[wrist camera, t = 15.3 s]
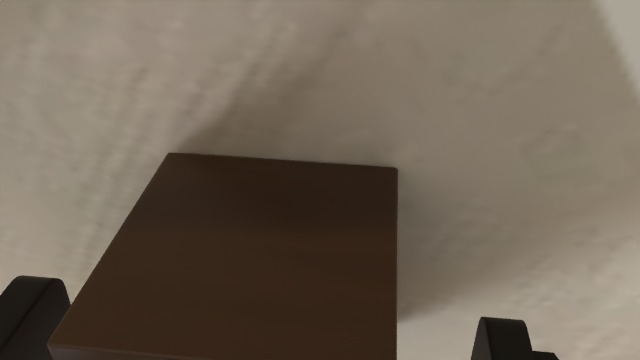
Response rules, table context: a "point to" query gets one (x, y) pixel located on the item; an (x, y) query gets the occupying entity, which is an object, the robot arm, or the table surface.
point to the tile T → (245, 266)
